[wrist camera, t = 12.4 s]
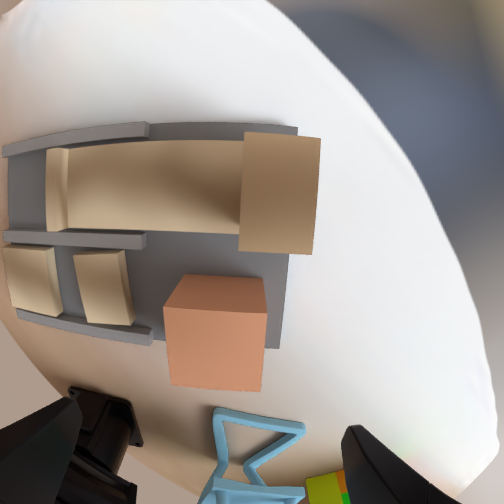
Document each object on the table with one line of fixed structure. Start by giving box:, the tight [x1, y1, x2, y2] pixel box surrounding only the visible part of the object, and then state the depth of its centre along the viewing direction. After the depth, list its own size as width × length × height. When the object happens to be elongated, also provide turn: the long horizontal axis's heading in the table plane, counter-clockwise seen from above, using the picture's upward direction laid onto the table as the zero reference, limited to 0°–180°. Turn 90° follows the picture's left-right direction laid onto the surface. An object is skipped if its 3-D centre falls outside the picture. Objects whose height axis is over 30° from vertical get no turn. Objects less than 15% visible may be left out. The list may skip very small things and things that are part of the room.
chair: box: [197, 407, 306, 504], centre depth 15 cm, size 8×8×12 cm
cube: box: [163, 274, 267, 392], centre depth 14 cm, size 4×4×4 cm
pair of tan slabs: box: [2, 244, 136, 325], centre depth 15 cm, size 5×11×1 cm, turn 87°
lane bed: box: [2, 122, 298, 349], centre depth 15 cm, size 13×20×2 cm, turn 87°
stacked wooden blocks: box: [45, 132, 321, 255], centre depth 12 cm, size 5×13×6 cm, turn 87°
